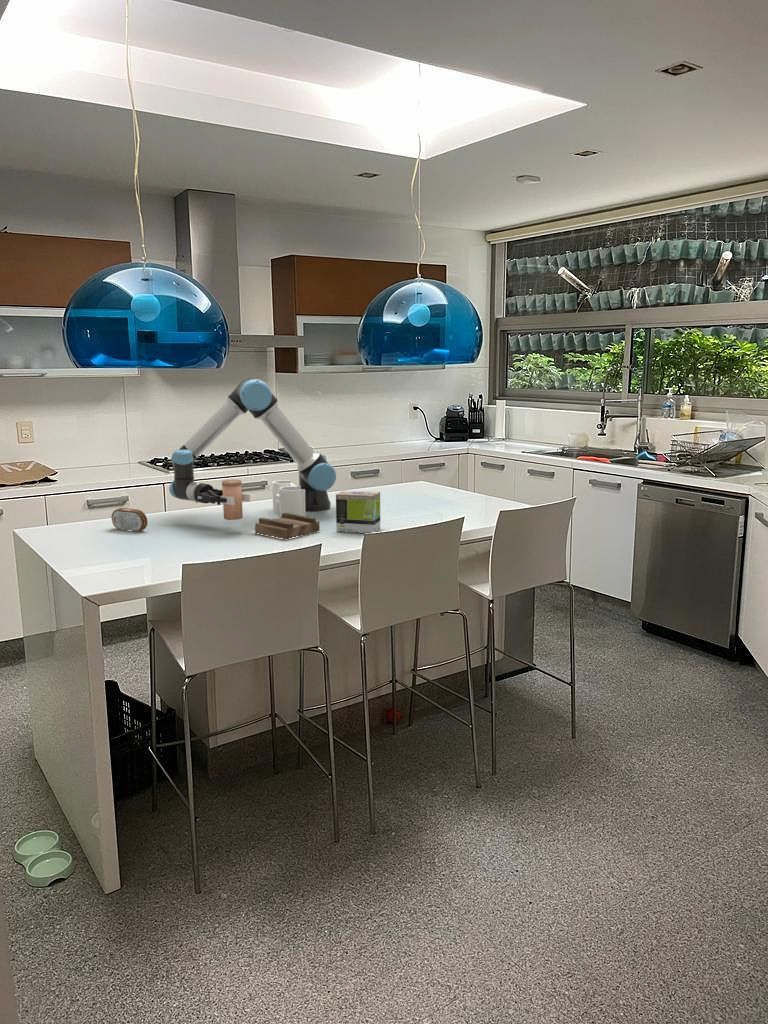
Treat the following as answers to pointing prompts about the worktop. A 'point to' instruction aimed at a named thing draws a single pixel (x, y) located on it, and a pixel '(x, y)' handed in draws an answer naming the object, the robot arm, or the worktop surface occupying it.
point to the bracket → (288, 498)
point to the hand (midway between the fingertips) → (241, 499)
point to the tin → (129, 519)
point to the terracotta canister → (234, 490)
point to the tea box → (358, 511)
